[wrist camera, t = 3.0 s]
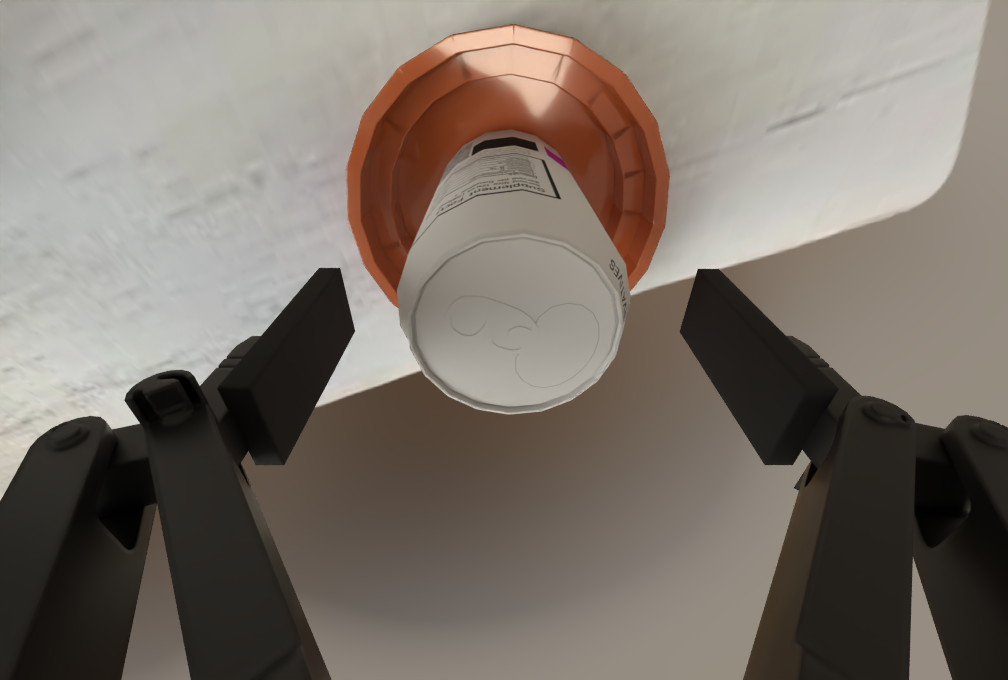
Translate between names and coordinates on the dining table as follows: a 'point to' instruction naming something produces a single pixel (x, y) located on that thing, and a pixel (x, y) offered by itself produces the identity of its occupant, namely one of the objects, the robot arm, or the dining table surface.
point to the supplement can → (512, 280)
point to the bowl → (495, 107)
